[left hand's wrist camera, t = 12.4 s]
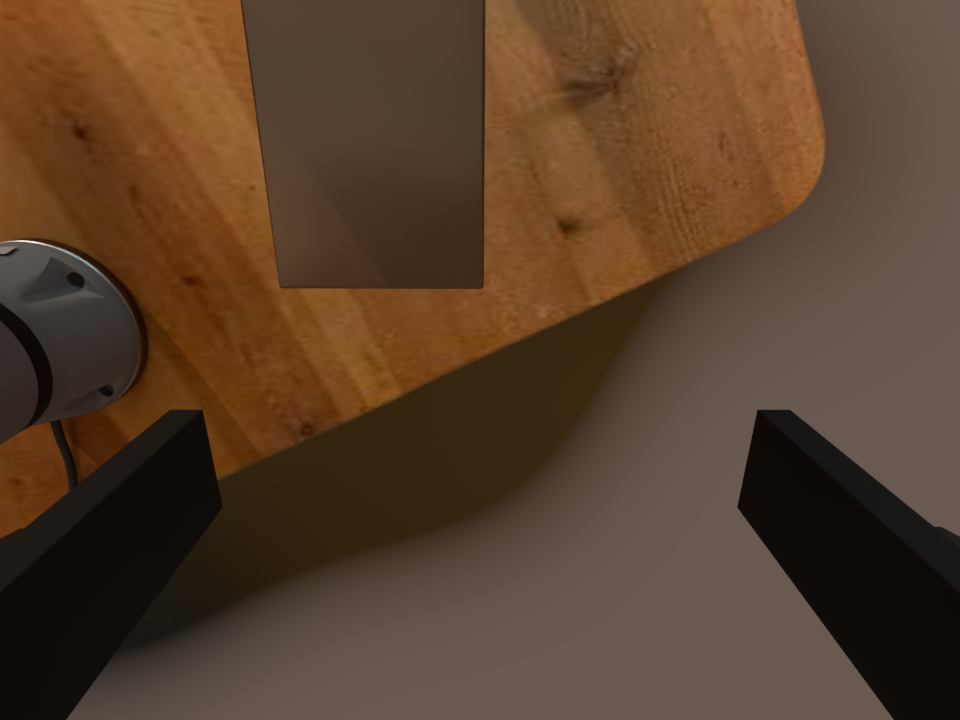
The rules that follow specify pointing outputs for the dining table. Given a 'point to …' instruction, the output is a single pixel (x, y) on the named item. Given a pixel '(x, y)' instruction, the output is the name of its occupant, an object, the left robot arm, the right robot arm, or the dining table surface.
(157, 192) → the dining table surface
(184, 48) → the dining table surface
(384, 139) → the box
